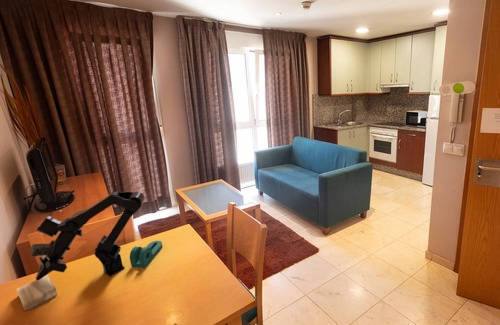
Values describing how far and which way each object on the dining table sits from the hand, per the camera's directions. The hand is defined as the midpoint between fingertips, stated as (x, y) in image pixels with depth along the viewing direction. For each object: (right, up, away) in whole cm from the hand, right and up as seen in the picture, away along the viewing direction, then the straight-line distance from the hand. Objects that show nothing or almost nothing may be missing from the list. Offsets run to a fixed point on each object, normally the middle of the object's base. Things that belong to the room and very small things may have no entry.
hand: (37, 279), depth 100 cm
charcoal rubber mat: (0, -7, +1) cm, 7 cm away
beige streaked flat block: (+3, -4, +4) cm, 6 cm away
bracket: (+35, +1, +23) cm, 42 cm away
